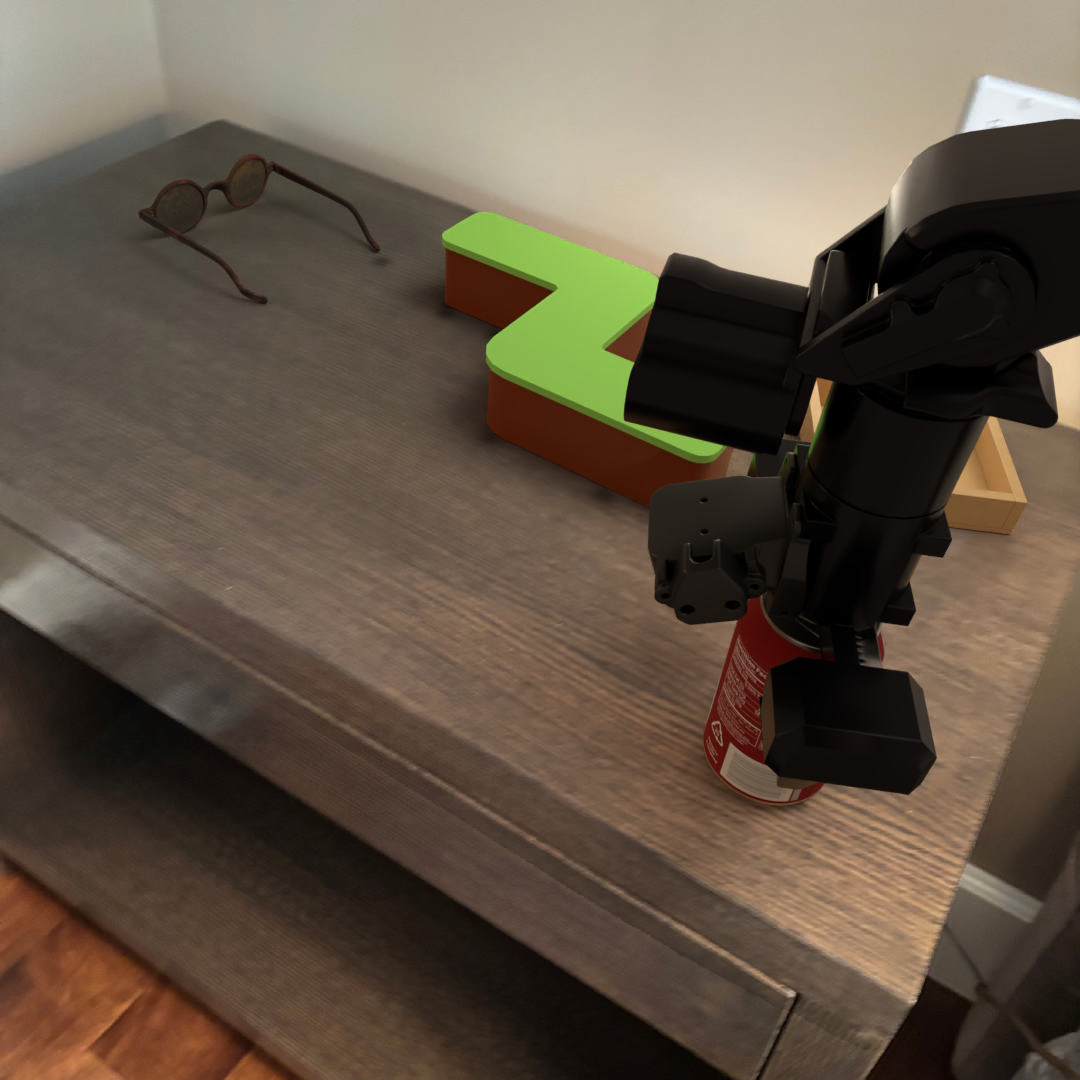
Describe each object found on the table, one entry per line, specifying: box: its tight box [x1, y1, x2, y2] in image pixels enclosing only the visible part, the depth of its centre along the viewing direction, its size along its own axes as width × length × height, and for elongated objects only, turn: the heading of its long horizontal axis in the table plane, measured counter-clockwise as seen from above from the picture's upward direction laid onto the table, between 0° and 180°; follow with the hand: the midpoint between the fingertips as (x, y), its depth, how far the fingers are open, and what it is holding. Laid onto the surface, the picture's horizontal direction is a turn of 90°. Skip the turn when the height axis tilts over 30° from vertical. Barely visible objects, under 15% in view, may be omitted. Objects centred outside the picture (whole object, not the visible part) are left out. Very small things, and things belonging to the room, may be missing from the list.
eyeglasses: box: [137, 153, 381, 304], centre depth 88 cm, size 15×15×5 cm
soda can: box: [702, 591, 886, 807], centre depth 50 cm, size 7×7×12 cm
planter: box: [441, 211, 734, 508], centre depth 76 cm, size 30×18×6 cm, turn 57°
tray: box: [799, 378, 1028, 535], centre depth 73 cm, size 14×13×3 cm
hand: (781, 707), depth 52 cm, fingers open, 9 cm apart
